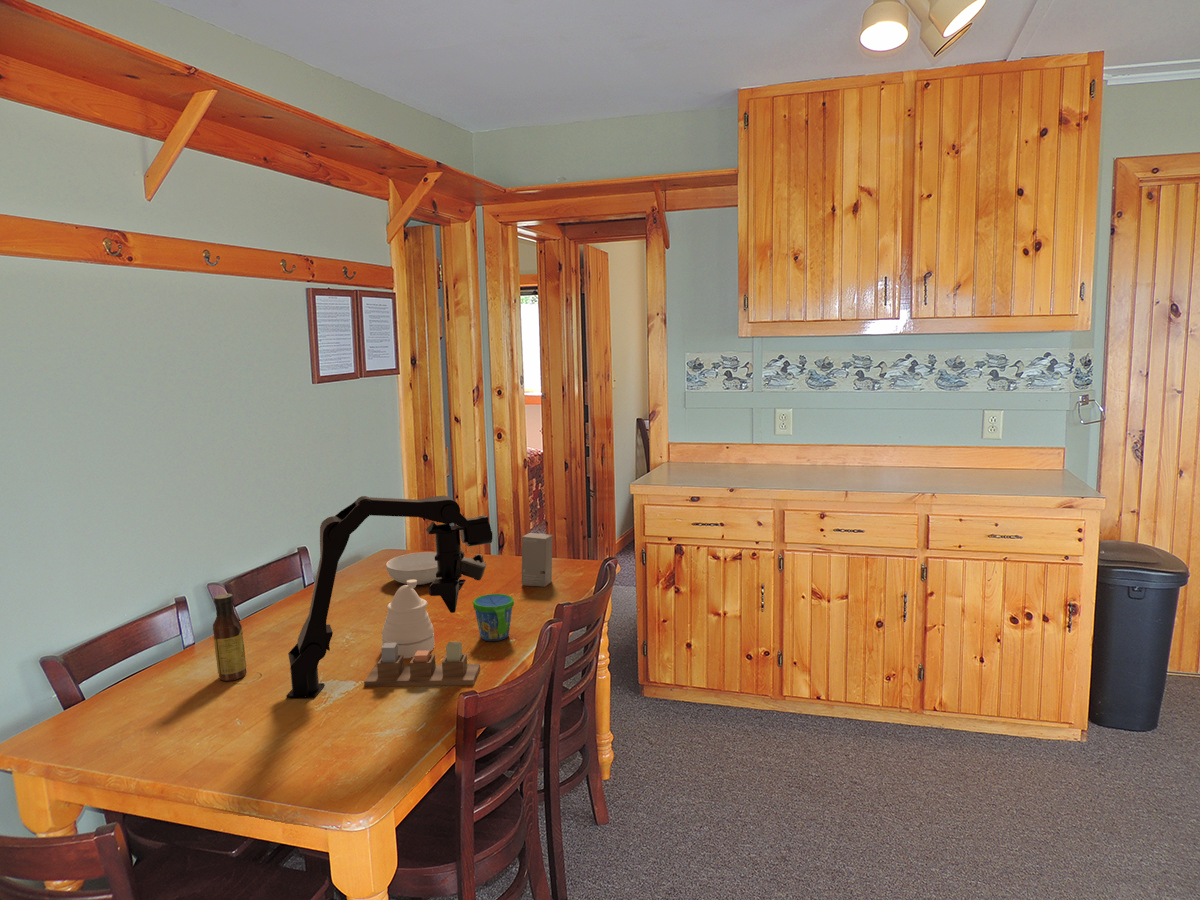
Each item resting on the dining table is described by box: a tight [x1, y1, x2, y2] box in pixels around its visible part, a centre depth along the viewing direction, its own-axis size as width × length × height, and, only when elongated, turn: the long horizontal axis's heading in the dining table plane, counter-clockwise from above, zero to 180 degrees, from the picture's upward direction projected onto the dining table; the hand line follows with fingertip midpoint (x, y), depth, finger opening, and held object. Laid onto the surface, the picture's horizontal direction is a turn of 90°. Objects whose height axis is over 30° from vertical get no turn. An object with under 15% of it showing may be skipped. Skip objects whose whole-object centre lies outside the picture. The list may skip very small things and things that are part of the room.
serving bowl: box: [385, 551, 442, 586], centre depth 264 cm, size 21×21×7 cm
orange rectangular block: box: [414, 650, 431, 662], centre depth 189 cm, size 3×3×5 cm
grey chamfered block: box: [380, 643, 399, 663], centre depth 189 cm, size 3×3×5 cm
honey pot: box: [381, 579, 435, 659], centre depth 206 cm, size 13×13×18 cm
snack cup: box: [472, 593, 515, 642], centre depth 213 cm, size 16×10×10 cm
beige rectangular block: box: [445, 641, 463, 662], centre depth 188 cm, size 3×3×5 cm
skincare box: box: [521, 532, 553, 588], centre depth 258 cm, size 8×7×16 cm
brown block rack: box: [363, 653, 481, 687], centre depth 189 cm, size 9×25×5 cm, turn 89°
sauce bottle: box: [212, 593, 247, 682], centre depth 191 cm, size 7×6×20 cm
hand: (452, 612), depth 195 cm, fingers closed
